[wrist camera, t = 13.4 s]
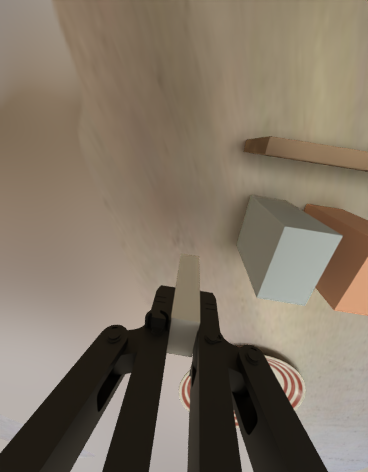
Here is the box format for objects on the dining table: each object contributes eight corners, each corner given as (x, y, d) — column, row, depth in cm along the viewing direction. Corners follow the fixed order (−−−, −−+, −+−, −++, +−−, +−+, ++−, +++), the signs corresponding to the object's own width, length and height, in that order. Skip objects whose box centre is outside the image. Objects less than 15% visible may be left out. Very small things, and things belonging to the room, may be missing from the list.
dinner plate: (268, 323, 38) (274, 339, 35) (317, 396, 46) (326, 413, 43) (156, 365, 45) (154, 381, 42) (216, 421, 54) (217, 437, 51)
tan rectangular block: (306, 203, 27) (377, 241, 17) (342, 209, 27) (436, 250, 17) (286, 252, 31) (334, 310, 20) (317, 257, 31) (382, 318, 20)
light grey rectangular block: (250, 194, 27) (285, 226, 17) (285, 200, 27) (343, 235, 17) (236, 244, 31) (256, 297, 20) (267, 249, 31) (305, 305, 20)
